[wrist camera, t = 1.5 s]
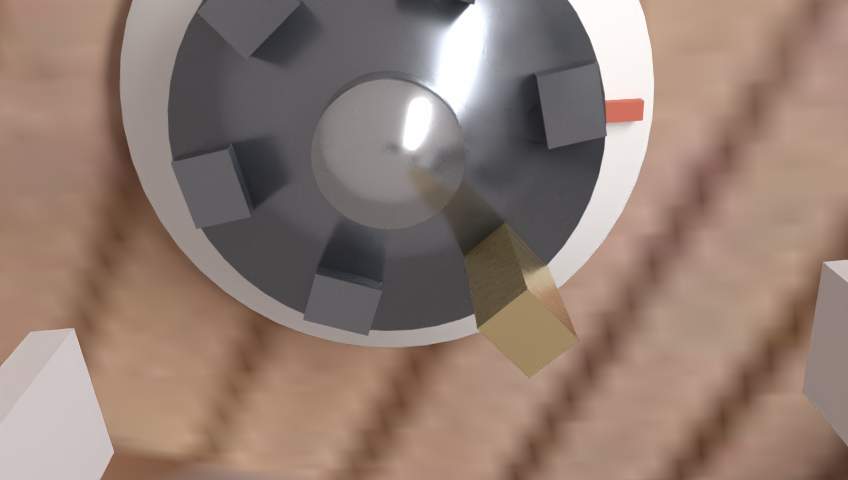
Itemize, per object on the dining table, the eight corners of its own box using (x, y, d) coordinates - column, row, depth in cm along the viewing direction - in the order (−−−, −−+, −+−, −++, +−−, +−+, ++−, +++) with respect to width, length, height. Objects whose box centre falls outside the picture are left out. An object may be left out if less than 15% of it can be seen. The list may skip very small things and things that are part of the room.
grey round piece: (102, 116, 33) (0, 187, 24) (396, -203, 28) (395, -251, 20) (385, 362, 38) (382, 489, 30) (668, 131, 34) (757, 205, 25)
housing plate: (698, 233, 38) (713, 250, 36) (281, 391, 41) (275, 414, 39) (547, -286, 29) (558, -299, 27) (23, -29, 32) (0, -25, 30)
